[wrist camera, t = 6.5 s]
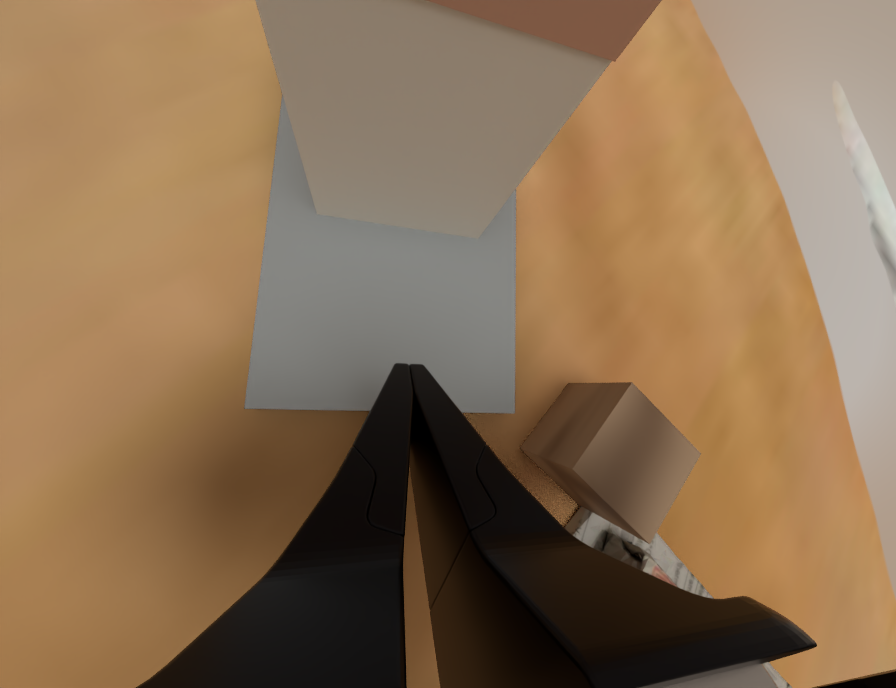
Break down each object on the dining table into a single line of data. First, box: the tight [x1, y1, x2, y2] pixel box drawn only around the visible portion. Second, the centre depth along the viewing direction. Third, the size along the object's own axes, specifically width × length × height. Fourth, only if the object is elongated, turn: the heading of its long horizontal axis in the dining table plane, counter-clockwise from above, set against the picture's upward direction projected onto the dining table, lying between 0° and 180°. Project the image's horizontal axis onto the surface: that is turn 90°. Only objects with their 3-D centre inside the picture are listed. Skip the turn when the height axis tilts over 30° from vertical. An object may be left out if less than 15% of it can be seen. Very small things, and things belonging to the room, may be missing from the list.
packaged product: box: [565, 506, 792, 688], centre depth 17 cm, size 18×5×10 cm
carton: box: [256, 0, 662, 239], centre depth 11 cm, size 7×9×14 cm
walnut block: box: [520, 382, 701, 544], centre depth 17 cm, size 5×5×5 cm
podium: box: [244, 94, 516, 413], centre depth 17 cm, size 20×13×2 cm, turn 177°
